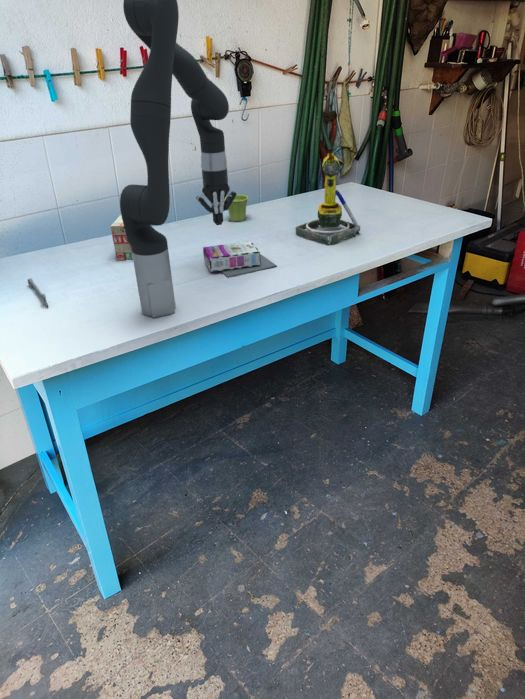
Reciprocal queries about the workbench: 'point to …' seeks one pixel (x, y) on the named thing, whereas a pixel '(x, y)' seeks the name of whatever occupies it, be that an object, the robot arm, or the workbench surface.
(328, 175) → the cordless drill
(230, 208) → the plant pot
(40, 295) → the combination wrench
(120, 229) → the stack of blocks
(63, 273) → the workbench surface
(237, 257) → the candy bar box
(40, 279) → the workbench surface
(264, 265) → the rubber mat
